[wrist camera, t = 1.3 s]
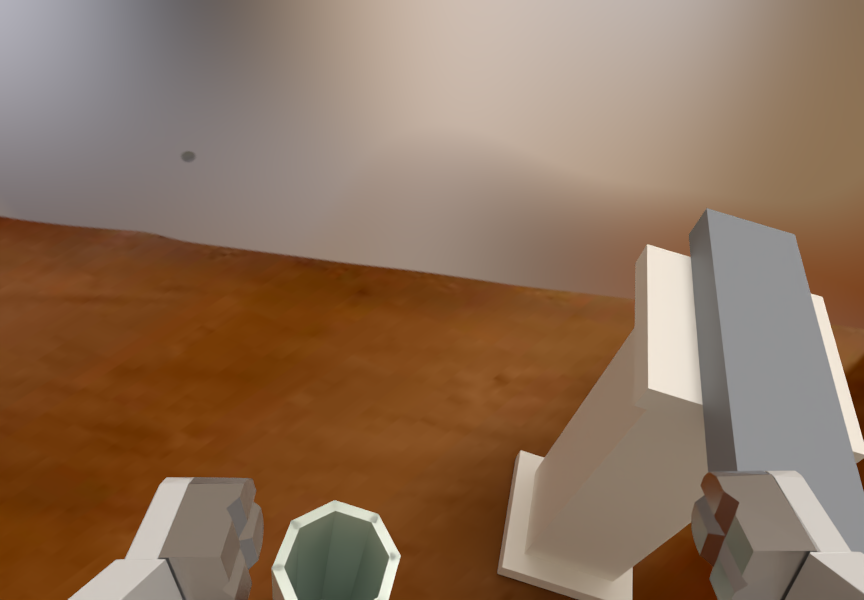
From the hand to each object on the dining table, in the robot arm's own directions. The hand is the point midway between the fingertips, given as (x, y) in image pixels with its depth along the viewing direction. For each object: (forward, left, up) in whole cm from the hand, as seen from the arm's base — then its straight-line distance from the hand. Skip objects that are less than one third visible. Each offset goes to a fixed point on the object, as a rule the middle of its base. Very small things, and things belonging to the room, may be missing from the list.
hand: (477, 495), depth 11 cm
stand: (+13, +18, -36) cm, 42 cm away
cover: (+13, +15, -10) cm, 22 cm away
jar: (-3, +5, -36) cm, 37 cm away
